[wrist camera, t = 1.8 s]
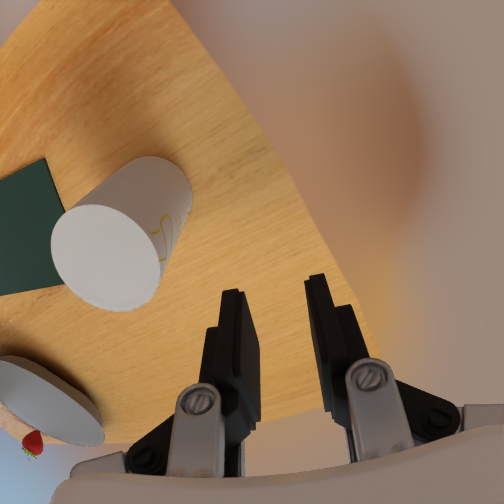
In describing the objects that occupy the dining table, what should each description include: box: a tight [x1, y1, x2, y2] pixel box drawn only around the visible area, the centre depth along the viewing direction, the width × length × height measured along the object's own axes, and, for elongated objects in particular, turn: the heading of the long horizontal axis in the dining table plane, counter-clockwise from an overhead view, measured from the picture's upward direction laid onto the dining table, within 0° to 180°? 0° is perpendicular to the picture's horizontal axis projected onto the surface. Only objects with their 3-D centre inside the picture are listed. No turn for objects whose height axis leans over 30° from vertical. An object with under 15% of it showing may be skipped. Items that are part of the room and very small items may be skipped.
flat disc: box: [0, 355, 105, 447], centre depth 47 cm, size 28×28×4 cm
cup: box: [51, 156, 192, 312], centre depth 24 cm, size 8×8×12 cm
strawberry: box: [22, 430, 43, 459], centre depth 56 cm, size 6×8×10 cm
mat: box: [0, 158, 65, 296], centre depth 32 cm, size 15×23×1 cm, turn 102°
